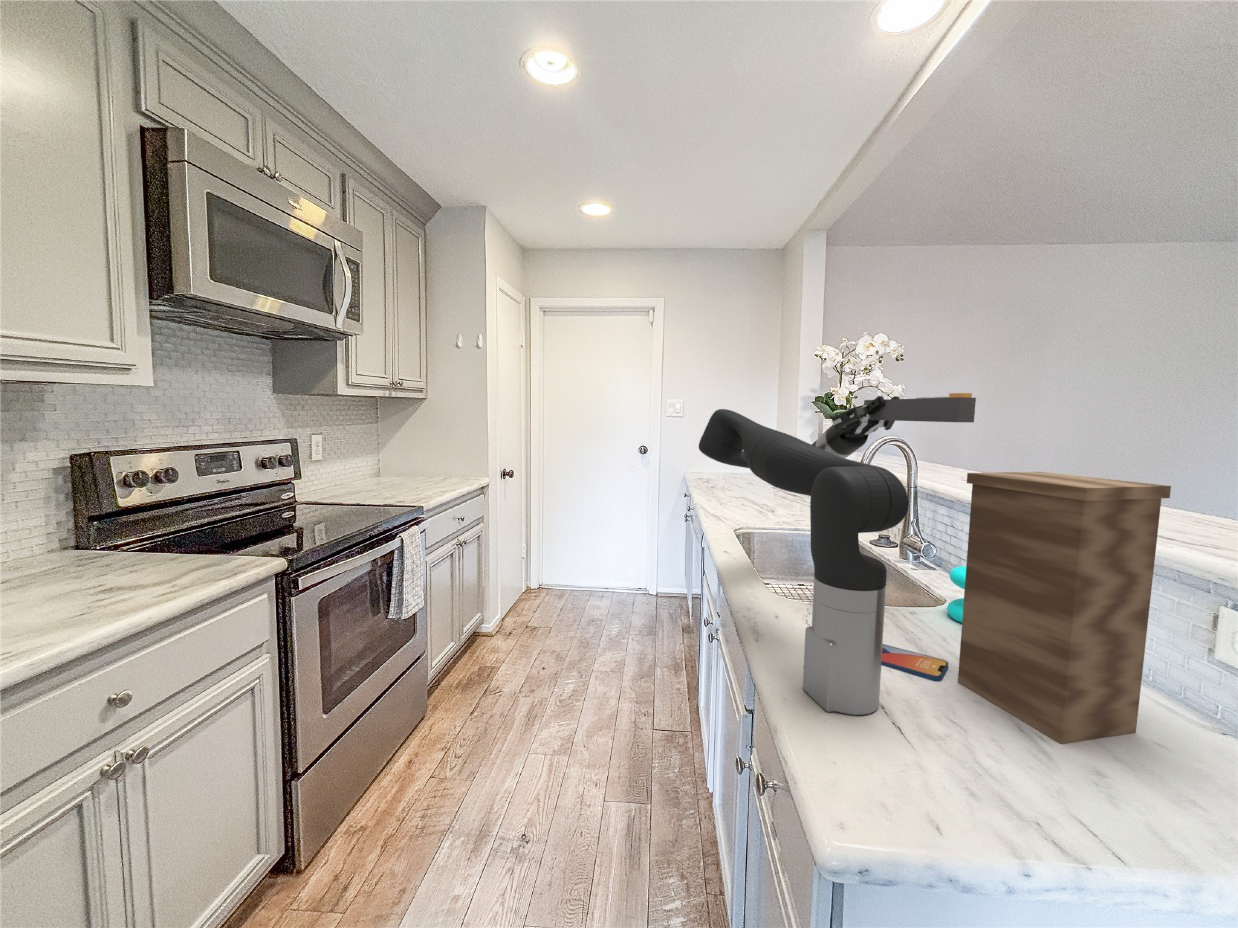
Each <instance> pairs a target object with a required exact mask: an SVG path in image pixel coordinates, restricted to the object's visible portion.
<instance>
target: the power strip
mask: <svg viewBox="0 0 1238 928" xmlns="http://www.w3.org/2000/svg"><path fill="white" fill-rule="evenodd" d="M873 400H874V399H865V400H863V406H864V405H868V404H869V403H870V402H872V401H873ZM976 400H977V398H976V397H973V393H972V392H971V393H970V392H956V393H955V392H954V393H951V392H950V393H949V394H948V396H933V397H929V396H927V397H924V396H923V397H921V396H920V397H919V396H918V397H916V398H899V399H891V398H889V399H888V398H887V399H884V402H885V406H884V407H882V408H881V409H880V410H879V411H877V412H876V413H875V414H874V415H872V416H871V417H870V418H869V419H868V420H891V421H897V422H930V423H931V422H934V423H938V422H939V423H975V414H976V402H977V401H976Z"/></svg>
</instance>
